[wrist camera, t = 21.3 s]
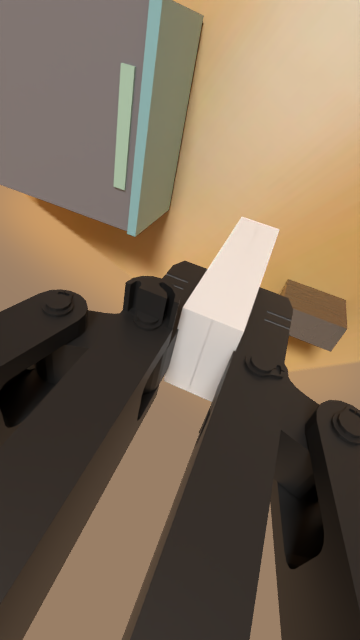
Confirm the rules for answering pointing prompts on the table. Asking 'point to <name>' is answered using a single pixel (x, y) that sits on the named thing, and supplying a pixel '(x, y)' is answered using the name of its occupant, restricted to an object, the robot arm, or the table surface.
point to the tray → (162, 108)
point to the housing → (72, 102)
